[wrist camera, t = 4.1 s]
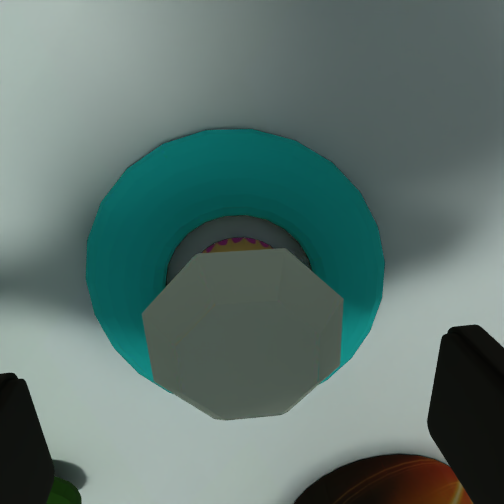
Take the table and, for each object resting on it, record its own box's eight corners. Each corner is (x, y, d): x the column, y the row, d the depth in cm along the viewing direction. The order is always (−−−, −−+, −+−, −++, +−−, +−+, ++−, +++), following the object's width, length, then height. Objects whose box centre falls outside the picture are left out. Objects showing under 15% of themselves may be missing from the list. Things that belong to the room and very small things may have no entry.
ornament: (478, 423, 12) (180, 542, 13) (412, 337, 16) (186, 432, 17) (373, 65, 8) (-63, 278, 9) (318, 65, 12) (20, 212, 13)
